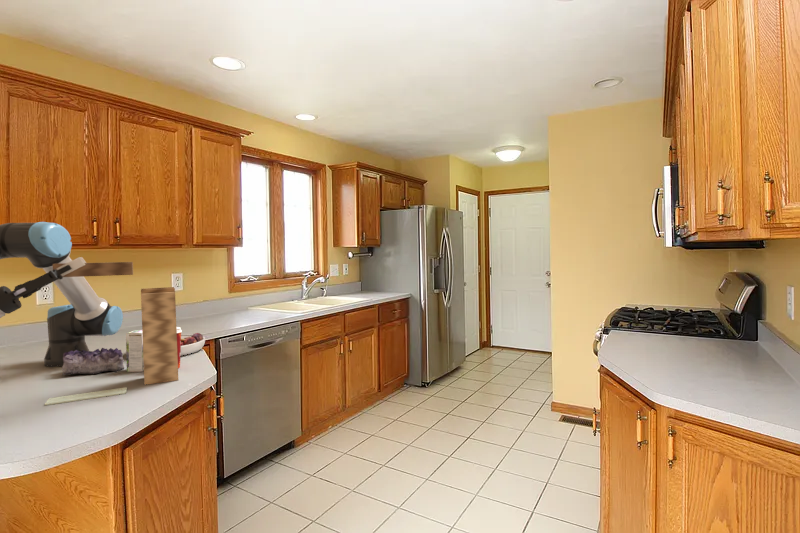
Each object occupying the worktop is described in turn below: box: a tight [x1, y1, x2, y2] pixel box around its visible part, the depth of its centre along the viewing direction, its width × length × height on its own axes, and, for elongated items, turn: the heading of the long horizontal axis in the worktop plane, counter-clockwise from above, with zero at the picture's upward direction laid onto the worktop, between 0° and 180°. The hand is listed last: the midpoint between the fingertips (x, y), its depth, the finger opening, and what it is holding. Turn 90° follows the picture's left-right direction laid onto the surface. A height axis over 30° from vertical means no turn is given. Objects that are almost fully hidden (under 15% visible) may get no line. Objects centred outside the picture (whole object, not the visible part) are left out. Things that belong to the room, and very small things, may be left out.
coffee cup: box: [176, 326, 183, 369], centre depth 167 cm, size 8×8×15 cm
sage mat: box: [44, 387, 128, 406], centre depth 136 cm, size 20×6×1 cm, turn 119°
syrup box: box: [125, 329, 144, 373], centre depth 165 cm, size 6×6×14 cm
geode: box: [61, 347, 125, 376], centre depth 164 cm, size 20×12×10 cm, turn 108°
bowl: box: [180, 332, 206, 357], centre depth 193 cm, size 30×30×8 cm
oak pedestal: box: [140, 286, 179, 386], centre depth 153 cm, size 10×10×31 cm
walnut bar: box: [53, 261, 134, 277], centre depth 137 cm, size 20×4×4 cm, turn 119°
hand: (83, 260), depth 135 cm, fingers closed on walnut bar, 4 cm apart
